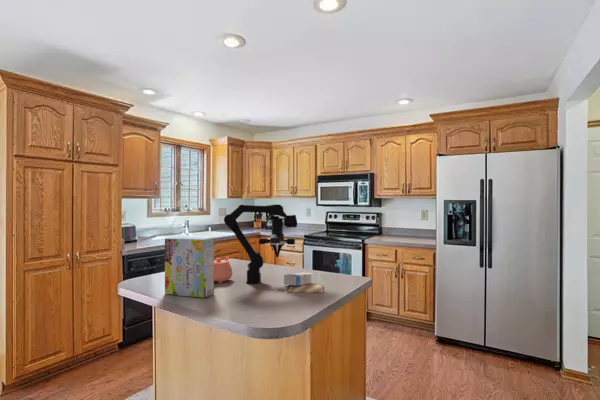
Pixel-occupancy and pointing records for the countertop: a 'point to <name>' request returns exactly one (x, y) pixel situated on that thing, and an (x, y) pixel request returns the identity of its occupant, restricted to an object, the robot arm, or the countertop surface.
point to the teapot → (222, 270)
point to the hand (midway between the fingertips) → (277, 257)
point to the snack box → (189, 266)
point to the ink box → (297, 279)
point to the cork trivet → (306, 288)
